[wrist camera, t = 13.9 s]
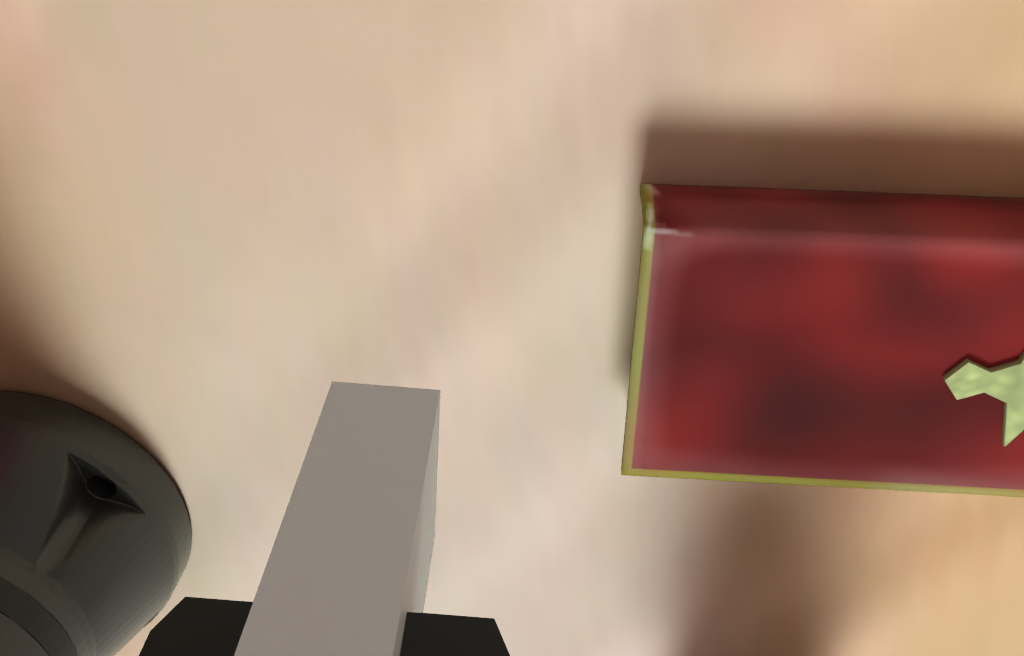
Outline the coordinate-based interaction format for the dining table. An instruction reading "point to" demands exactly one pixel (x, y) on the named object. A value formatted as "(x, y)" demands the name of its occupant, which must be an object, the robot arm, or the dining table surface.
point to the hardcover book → (829, 340)
